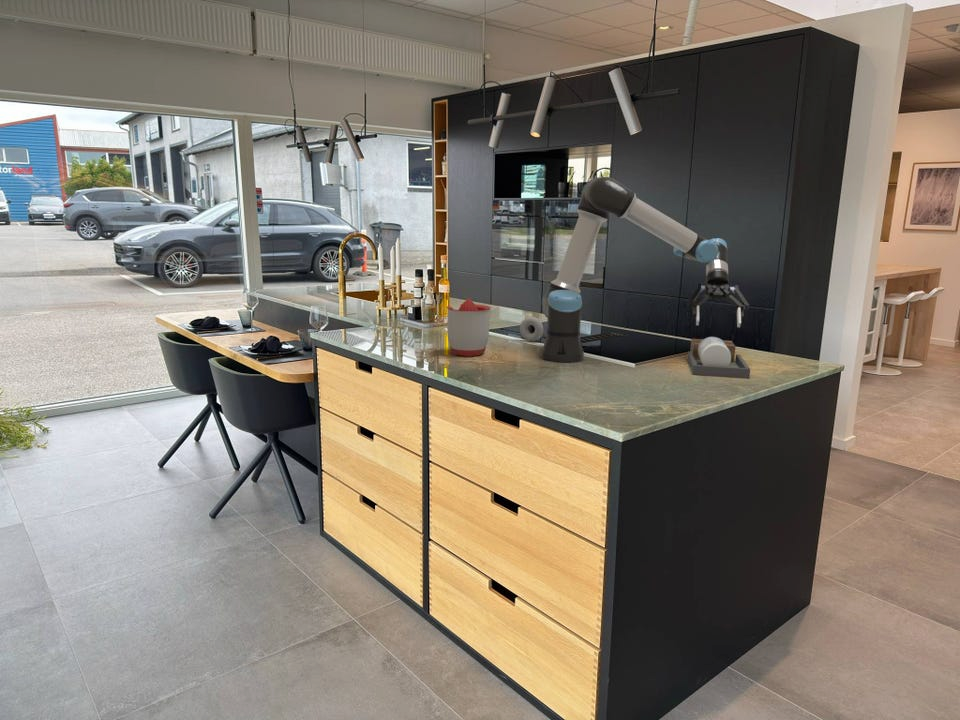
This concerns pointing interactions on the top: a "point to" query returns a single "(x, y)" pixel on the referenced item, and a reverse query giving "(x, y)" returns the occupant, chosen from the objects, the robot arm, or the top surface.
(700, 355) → the supplement tub
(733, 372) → the grey shallow rectangular tray
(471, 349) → the citrus juicer
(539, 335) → the donut
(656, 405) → the top surface
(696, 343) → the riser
